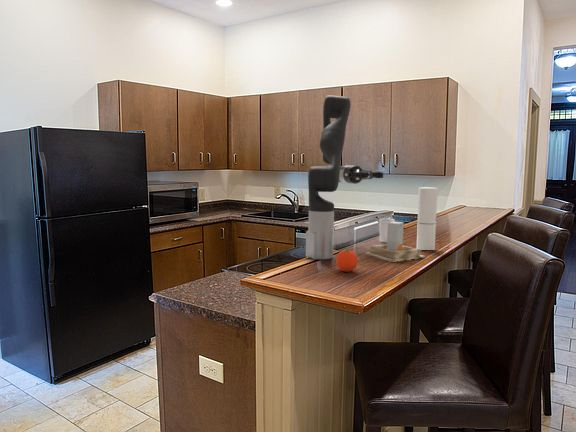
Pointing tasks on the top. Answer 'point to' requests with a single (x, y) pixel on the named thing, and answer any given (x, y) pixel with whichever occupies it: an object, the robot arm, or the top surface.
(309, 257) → the robot arm
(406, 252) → the tray
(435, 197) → the cylindrical container
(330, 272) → the top surface
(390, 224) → the skincare box
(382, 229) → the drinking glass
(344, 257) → the clementine
